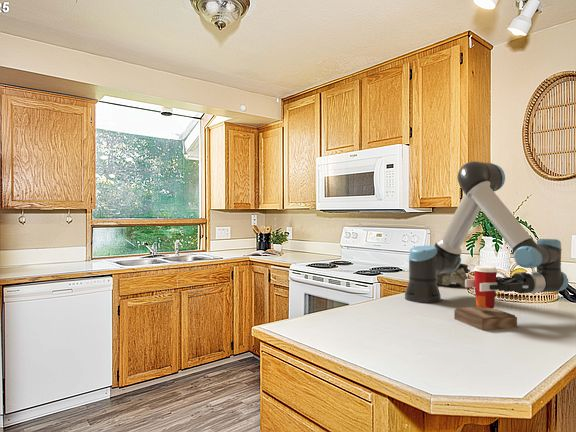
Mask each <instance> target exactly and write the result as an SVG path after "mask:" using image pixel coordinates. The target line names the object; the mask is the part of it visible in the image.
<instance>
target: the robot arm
mask: <svg viewBox="0 0 576 432" xmlns="http://www.w3.org/2000/svg"><path fill="white" fill-rule="evenodd" d="M505 182H506V174H505V171H504V169H503V168H502V167H501V166H499V165H498V164H495V163H492V162H483V161H476V160H475V161H474V160H473V161H469V162H466V163H464V164H463V165H462V166H461V167H460V168H459V170H458V172H457V183H458V185H459V187H460V189H461V190H462V191H463V193H464V194H463V196H462V198H461V199H460V200H461V201H460V203H458V206H457V208H456V210H455V212H454V214H453V216H452V217H451V220H450V222H449V224H448V225H447V228H446V230H445V232H444V234H443V236H442V238H441V239H437V240H436V242H435V244H434V245H418V246H413V247H411V248H410V250H409V255H408V259H409V260H408V282H407V283H408V284H407V286H406V288H405V293H404V298H405V299H406V300H407V301H411V302H416V303H426V304H427V303H438V302H441V299H442V298H441V297H442V296H441V292H440V289H439V285H438V284H437V274H440V273H449V272H452V271H454V270H456V269H457V268H458V267H459V265H460V264H462V263H461V262H462V258H461V257H462V256H461V255H462V249H461V247H462V246H463V243H464V241H465V239H466V237H467V235H468V233H469V231H470V230H471V228H472V226H473V224H474V222H475V220H476V218H477V217H478V215H479V213H480V211H481V212H482V213H483V214H484V215H485V216H486V218H487V219H488V220H489V222H490V223H491V224H492V226H494V228H495V230H497V231H496V232H497V233H499V234H500V236H501V237H502V238H503V240H504V241H505V242H506V244H507V245H508V246H509V248H510V249H511V250H512V251H513V258H514V262H515V263H516V265H518V266H519V267H521V268H525V269H535V268H536V271H522V272H520V271H519V272H515V273H513V274H512V275H511V277H510V276H506V277H501V276H497V277H496V282H493V283H480V291H495V292H497V291H498V292H502V291H503V292H505V293H508V292H515V293H517V294H529V293H530V294H532V295H535V294H536V293H555V292H561V291H565V289H567V288H568V286H569V278H568V277H567V274H565V273H564V272H563V271H562V249H563V248H562V243H561V241H560V240H559V239H558V238H557V239H556V238H555V239H554V238H539V239H537V240H536V241H535V240H534V239H533V238H532V236H531V235H530V234H529V233H528V231H527V230H526V229H525V228H524V226H523V225H522V224H521V223H520V222H519V221H518V219H517V218H516V216H515V215H513V213H512V211H510V210H509V208H508V207H507V205H506V204H505V203H504V202H503V201H502V199H501V198H500V197H499V196H498V195H497V194H496V192H497V191H499V190H501V189H502V188H503V186H504V185H505ZM464 288H475V278H471V279H469V278H468V279H466V280H465V287H464Z"/></svg>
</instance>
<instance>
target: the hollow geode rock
mask: <svg viewBox="0 0 576 432" xmlns="http://www.w3.org/2000/svg"><path fill="white" fill-rule="evenodd" d="M468 267H469V265H467V264H466V263H460V265H459V267H458V268H457V269H456V270H454V271H452V272H449V273H440V274H437V286H449V285H451V284H456V285H458V286H459V287H460V288H466V287H465V280H466V279H469V278H468V275H469V273H471V270H470V269H469V268H468ZM467 274H468V275H467Z"/></svg>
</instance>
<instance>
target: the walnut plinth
mask: <svg viewBox="0 0 576 432" xmlns="http://www.w3.org/2000/svg"><path fill="white" fill-rule="evenodd" d="M453 313H454V316H453V317H454V320H456V321H459V322H461V323H464V324H465V325H466V324H467V325H469V326H471V327H474V328H475V329H479V330H481V331H489V330H500V329H501V330H502V329H513V328H518V317H517V316H516V314H512V313H509V312H506V311H503V310H499V309H497V308H495V307H494V308H480V307H477V306H466V307H457V308H456V307H455V309H454V312H453Z"/></svg>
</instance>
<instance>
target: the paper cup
mask: <svg viewBox="0 0 576 432" xmlns="http://www.w3.org/2000/svg"><path fill="white" fill-rule="evenodd" d="M497 269H498V268H497V267H496V266H492V265H475V266H474V267H473V271H474V272H473V273H474V279H475V287H474V290H475V305H476V307H480V308H494V309H495V299H496V291H480V283H493V282H496V275H498V272H499V271H498V270H497Z"/></svg>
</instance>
